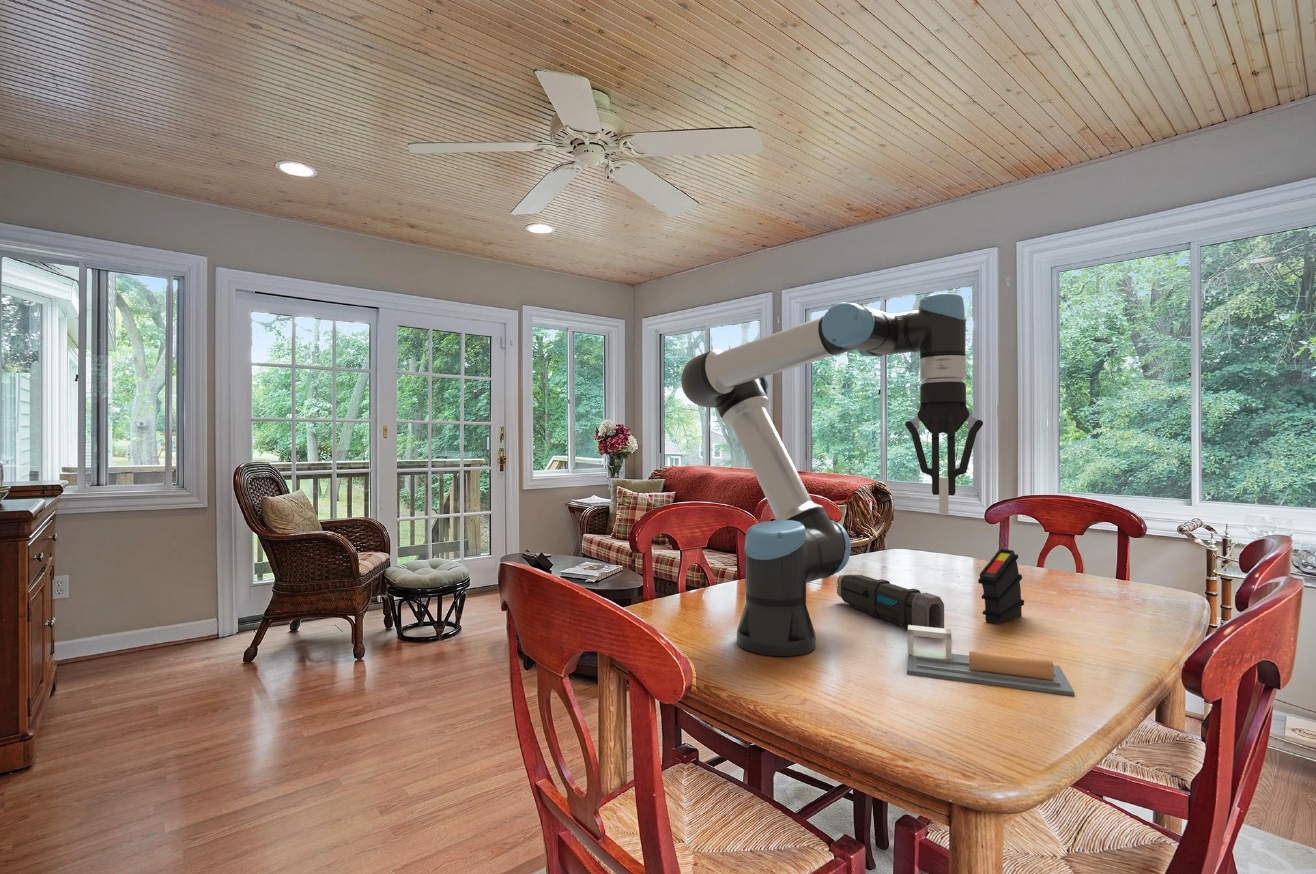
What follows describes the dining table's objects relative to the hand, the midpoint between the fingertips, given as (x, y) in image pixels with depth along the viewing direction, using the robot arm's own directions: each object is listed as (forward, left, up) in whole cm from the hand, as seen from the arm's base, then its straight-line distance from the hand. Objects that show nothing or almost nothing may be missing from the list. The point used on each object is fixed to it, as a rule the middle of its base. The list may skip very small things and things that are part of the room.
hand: (943, 513), depth 113 cm
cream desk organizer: (-3, +1, -26) cm, 26 cm away
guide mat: (+6, -3, -26) cm, 27 cm away
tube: (-12, +25, -27) cm, 39 cm away
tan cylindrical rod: (+10, -4, -26) cm, 28 cm away
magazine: (+12, +33, -27) cm, 44 cm away
